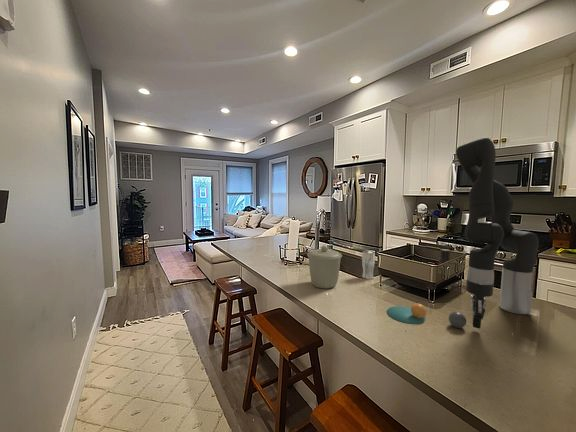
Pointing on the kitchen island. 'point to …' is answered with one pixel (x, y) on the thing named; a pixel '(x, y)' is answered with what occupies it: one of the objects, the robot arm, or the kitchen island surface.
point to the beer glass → (368, 264)
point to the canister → (324, 267)
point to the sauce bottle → (445, 258)
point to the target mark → (403, 315)
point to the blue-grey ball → (457, 319)
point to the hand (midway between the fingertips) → (476, 326)
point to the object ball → (418, 310)
